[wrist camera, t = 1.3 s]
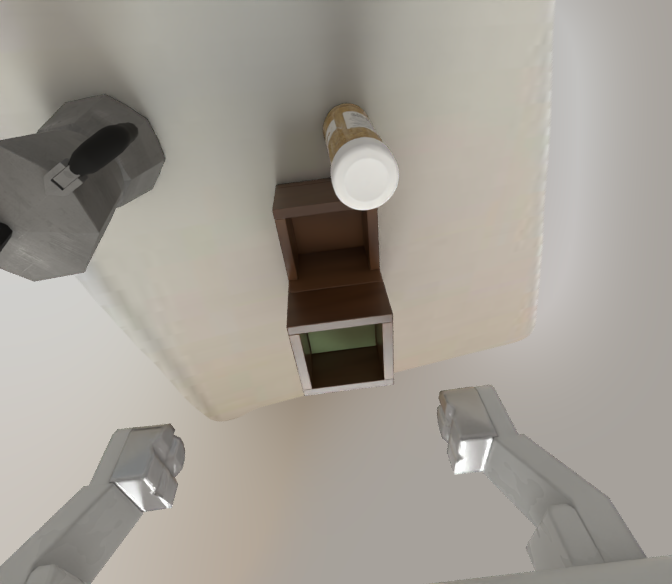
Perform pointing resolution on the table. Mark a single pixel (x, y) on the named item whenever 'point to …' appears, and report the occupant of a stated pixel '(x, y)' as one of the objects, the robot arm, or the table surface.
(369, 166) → the sprinkles bottle
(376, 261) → the caddy
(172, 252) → the table surface
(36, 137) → the coffeepot
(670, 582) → the robot arm
